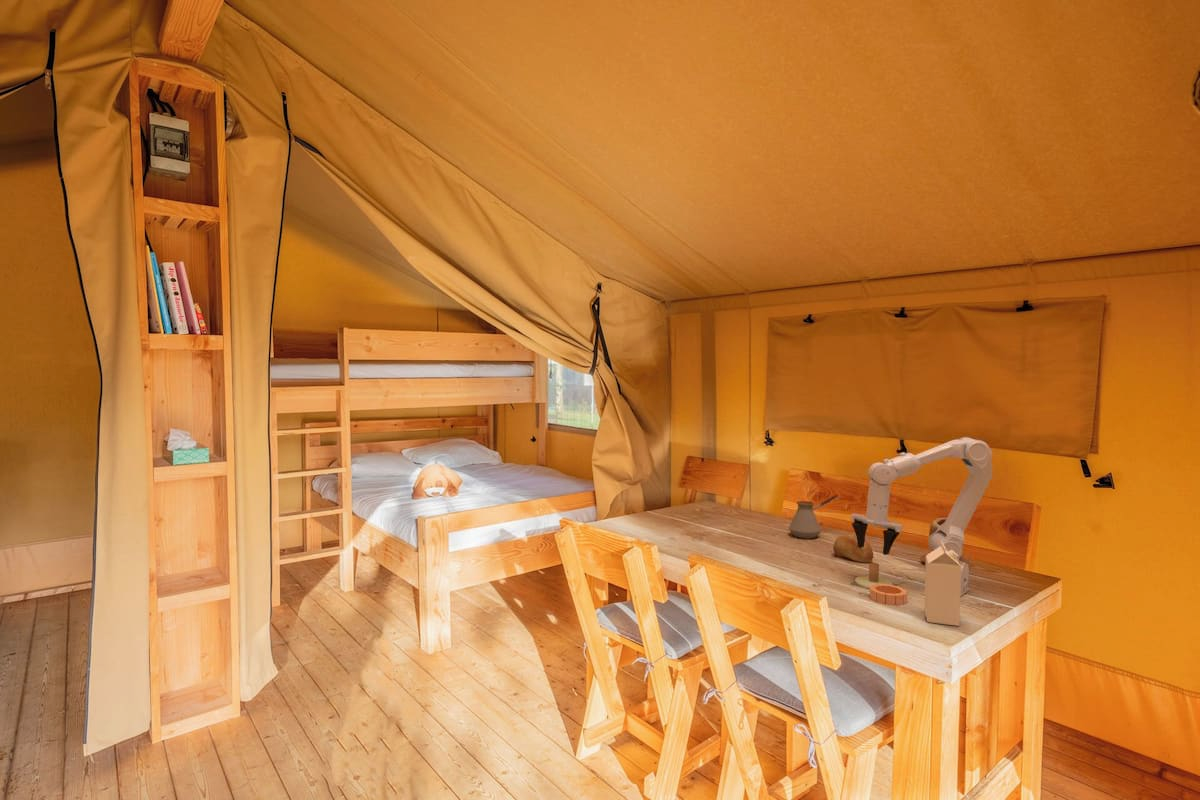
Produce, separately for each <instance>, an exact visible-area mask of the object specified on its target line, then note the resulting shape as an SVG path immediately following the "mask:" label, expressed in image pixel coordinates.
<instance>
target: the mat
mask: <svg viewBox="0 0 1200 800" xmlns="http://www.w3.org/2000/svg"><path fill="white" fill-rule="evenodd" d="M892 583H893V585H894V586H899V584H897V583H894V582H892ZM849 585H850V586H851V585H852V586H854V587H858V588H859V587H860V588H862V589H864V588H863V587H861V586H858V585H857V584H856V583H855V580H854V581H853V582H850V583H849ZM865 589H867V588H865ZM867 590H868V589H867Z"/></svg>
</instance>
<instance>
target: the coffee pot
mask: <svg viewBox="0 0 1200 800" xmlns="http://www.w3.org/2000/svg"><path fill="white" fill-rule="evenodd" d="M838 497H839V498H841V496H840V495H838V494H835V495H833V496H831V497H829V498H827V499H826V500H824V501H822V502H820V503H818V505H816V506H814V505H815V503H814V502H813V501H807V500H799V501H796V502H795V503H796V504H797V510H796V511H795V513H794V516H793V517H792V521H791V522H790V524H789V527H788V530H789V532H790V533H791V534H792V535H793V536H794V537H795V536H796V537H795V538H797V537H799V539H802V538H805V540H810V539H811V538H813V539H815V538H816V537H817V536H818V535H819V534H821V531H822V529H821V527H820V524H819V521H818V520H817V517H816V515H815V512H814V511H815V510H817V509H818V508H820V507H822V506H824V505H826V504H828V503H830V502H832V500H835V498H836V499H837V500H839V498H838ZM813 506H814V507H813Z"/></svg>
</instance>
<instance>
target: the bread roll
mask: <svg viewBox="0 0 1200 800" xmlns="http://www.w3.org/2000/svg"><path fill="white" fill-rule="evenodd" d="M832 550H833V552H834V554H835V555H837V556H840V557H843V558H845V559H849V560H852V561H855V562H858V563H865V564H866V563H867V564H869V563H872V561H873V559H874V552H873V548H872V546H871V544H870V543H869V542H868V541H867V540H866V539H865V543H864V547H861V548H859V547H858V542H857V537H856V534H846V535H845V534H842V535H838V537H836V539H835V541H834V544H833V546H832Z"/></svg>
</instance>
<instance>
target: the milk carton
mask: <svg viewBox="0 0 1200 800" xmlns="http://www.w3.org/2000/svg"><path fill="white" fill-rule="evenodd" d="M925 555H926V563H925V568H924V569H925V571H924V572H925V576H924V577H925V579H924V606H923V607H924V610H923V611H924V615H925V619H926V622H927V623H934V624H939V625H940V624H941V625H946V626H947V625H948V626H957V627H960V617H961V615H960V613H961V611H960V610H961V609H960V607H961V596H960V583H961V566H960V564H959V562H958V560H957V559H956V558H957V557H958V555H957V554H956V553H955V552H954V551H953V550H950V551H949V552H948V551H947V550H946V548H945V546H944V544H943V543H942V542H941V546H940V547H938V548H937V549H935V550H934V551H932V550H931V552H930V553H928V555H927V554H925Z"/></svg>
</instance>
